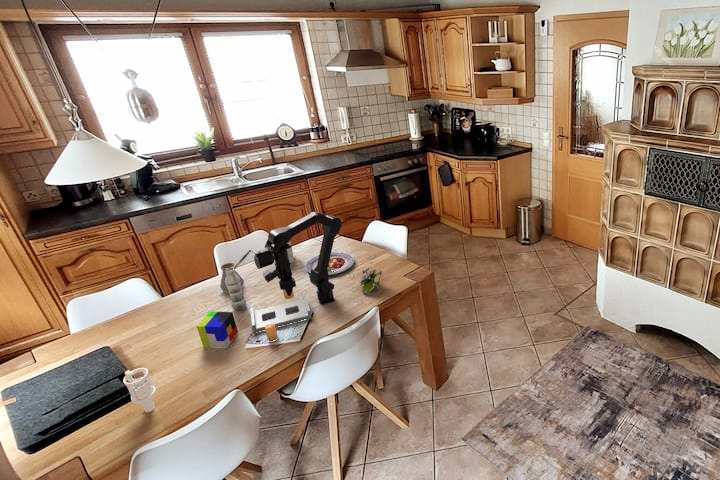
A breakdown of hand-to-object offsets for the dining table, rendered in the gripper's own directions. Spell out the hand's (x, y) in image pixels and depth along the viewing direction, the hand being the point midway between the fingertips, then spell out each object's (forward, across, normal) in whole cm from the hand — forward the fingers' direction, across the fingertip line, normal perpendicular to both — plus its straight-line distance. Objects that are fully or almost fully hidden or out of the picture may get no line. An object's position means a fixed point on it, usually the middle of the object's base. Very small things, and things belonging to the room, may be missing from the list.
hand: (288, 293), depth 168 cm
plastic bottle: (+11, -16, -22) cm, 29 cm away
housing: (+10, 0, -5) cm, 12 cm away
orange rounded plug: (+10, +14, -10) cm, 20 cm away
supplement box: (+11, -56, +4) cm, 57 cm away
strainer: (+10, +34, -52) cm, 63 cm away
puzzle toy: (+11, +5, -30) cm, 32 cm away
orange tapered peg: (+2, 0, 0) cm, 2 cm away
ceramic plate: (+11, -37, +25) cm, 46 cm away
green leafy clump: (+11, -5, +38) cm, 40 cm away
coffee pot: (+11, -40, -21) cm, 46 cm away
